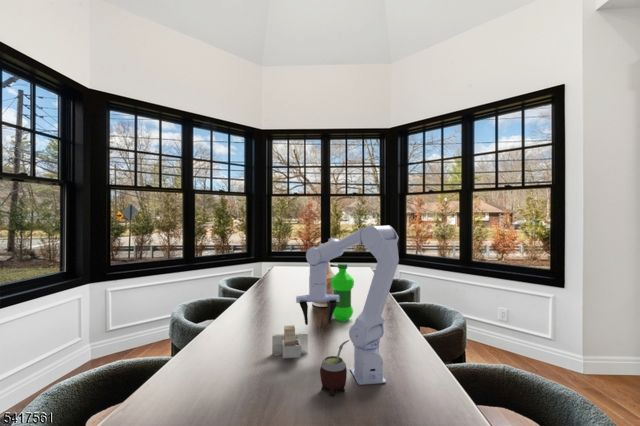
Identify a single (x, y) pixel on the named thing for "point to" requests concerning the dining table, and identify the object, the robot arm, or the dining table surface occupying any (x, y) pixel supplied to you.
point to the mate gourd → (334, 373)
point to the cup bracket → (292, 350)
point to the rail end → (289, 335)
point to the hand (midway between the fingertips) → (317, 323)
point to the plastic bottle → (342, 293)
